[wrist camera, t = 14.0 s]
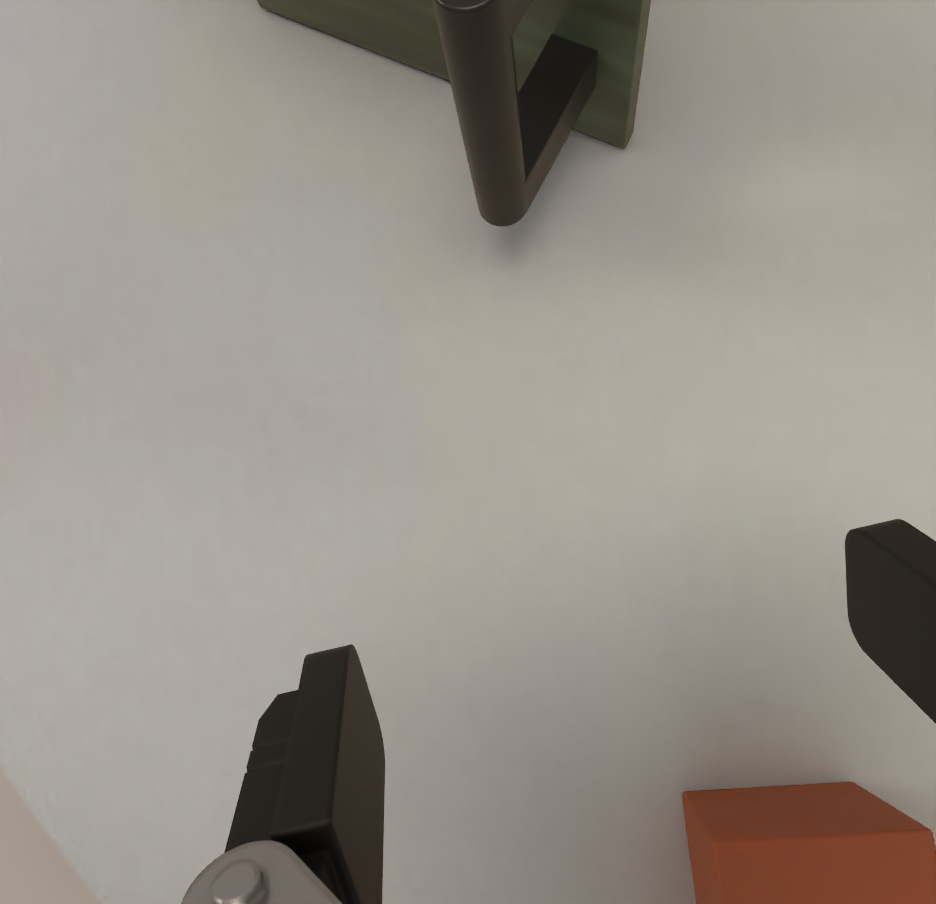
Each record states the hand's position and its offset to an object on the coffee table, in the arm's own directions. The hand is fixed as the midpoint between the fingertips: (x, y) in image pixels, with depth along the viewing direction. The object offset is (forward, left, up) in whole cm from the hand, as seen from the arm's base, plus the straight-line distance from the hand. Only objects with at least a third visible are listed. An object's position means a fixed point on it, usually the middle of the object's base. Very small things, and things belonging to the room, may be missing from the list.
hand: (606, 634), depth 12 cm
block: (+5, -8, -12) cm, 15 cm away
